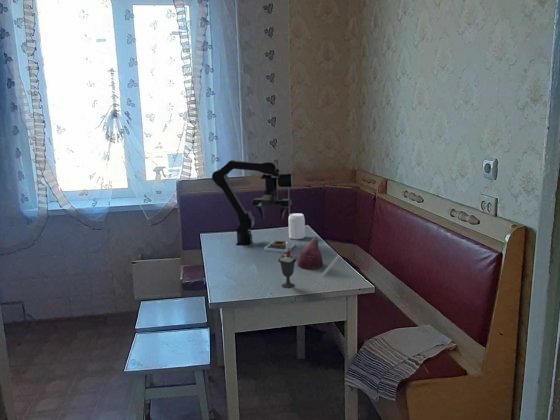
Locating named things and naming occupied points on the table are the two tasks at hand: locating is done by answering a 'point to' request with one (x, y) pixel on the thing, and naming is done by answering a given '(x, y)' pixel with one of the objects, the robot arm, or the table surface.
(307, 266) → the vegetable
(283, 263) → the sundae
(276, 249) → the tray
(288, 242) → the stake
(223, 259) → the table surface
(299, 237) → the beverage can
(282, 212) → the robot arm
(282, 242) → the ring
